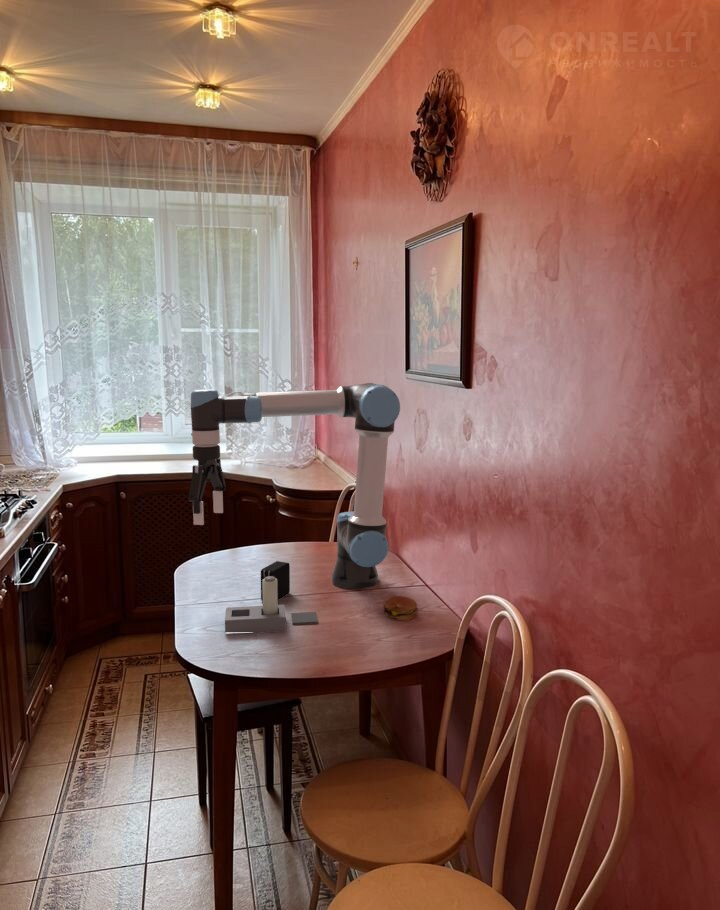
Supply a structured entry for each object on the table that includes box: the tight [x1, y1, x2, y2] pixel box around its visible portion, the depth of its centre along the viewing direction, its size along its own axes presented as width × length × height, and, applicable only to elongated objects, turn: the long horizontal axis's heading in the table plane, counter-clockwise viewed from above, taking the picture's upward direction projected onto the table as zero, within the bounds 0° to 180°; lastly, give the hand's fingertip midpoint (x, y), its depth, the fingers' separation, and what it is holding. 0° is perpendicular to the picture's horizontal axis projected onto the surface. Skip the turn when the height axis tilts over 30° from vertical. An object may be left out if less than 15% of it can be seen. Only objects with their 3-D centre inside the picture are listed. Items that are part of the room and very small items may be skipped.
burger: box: [382, 595, 419, 621], centre depth 194 cm, size 10×9×5 cm
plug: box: [262, 576, 279, 615], centre depth 184 cm, size 4×4×14 cm
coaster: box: [290, 611, 319, 626], centre depth 190 cm, size 7×7×1 cm
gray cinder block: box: [224, 604, 287, 633], centre depth 185 cm, size 16×9×4 cm, turn 99°
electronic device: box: [260, 560, 291, 602], centre depth 206 cm, size 4×10×10 cm, turn 155°
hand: (208, 518), depth 193 cm, fingers open, 13 cm apart
